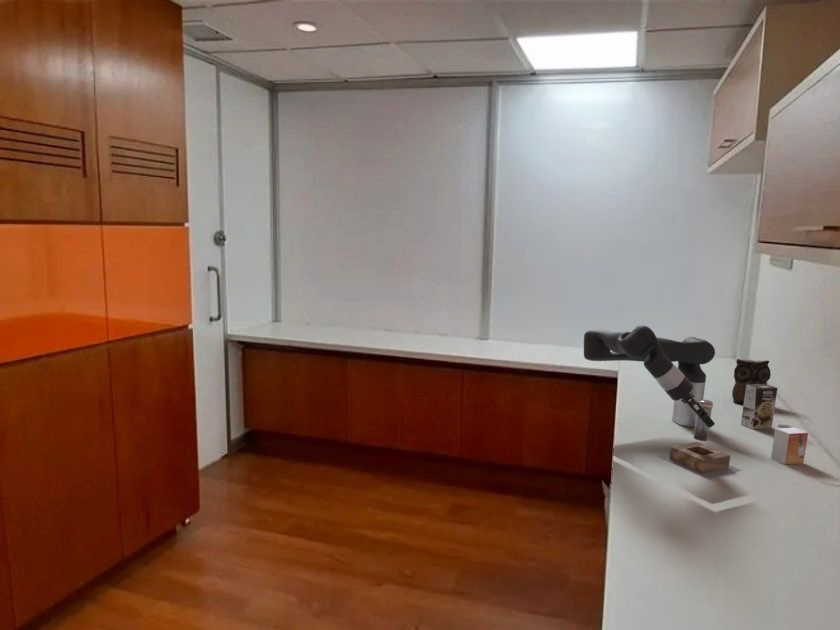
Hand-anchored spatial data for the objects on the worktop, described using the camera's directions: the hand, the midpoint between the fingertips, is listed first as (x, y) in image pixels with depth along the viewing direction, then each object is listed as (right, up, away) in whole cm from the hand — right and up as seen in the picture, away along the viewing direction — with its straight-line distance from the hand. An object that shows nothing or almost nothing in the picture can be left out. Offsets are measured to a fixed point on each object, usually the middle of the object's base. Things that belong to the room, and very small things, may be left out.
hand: (709, 423), depth 186 cm
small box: (+31, -15, +12) cm, 37 cm away
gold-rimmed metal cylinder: (-2, -5, +1) cm, 6 cm away
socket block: (-2, -13, +2) cm, 13 cm away
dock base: (-2, -14, +3) cm, 15 cm away
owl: (+55, -5, +79) cm, 97 cm away
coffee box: (+40, -10, +47) cm, 62 cm away
